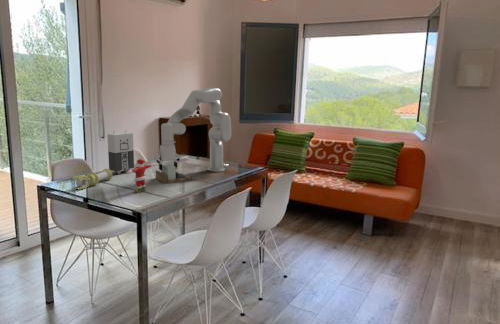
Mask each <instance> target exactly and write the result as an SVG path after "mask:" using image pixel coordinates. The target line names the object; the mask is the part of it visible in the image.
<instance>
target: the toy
mask: <svg viewBox="0 0 500 324" xmlns="http://www.w3.org/2000/svg"><path fill="white" fill-rule="evenodd" d="M134 149H135V148H134V133H133V132H128V130H127V129H125V130H124V132H117V133H116V131H115V130H113V132H112V133H107V150H108V152H107V155H108V169H109V170H111V171H112V172H113V173H114V174H117V175H120V174H121V172H122V171H123V172H128V171H129V170H131V169H134V168H135V156H134V155H135V154H134V153H135V151H134Z"/></svg>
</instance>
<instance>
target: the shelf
mask: <svg viewBox="0 0 500 324" xmlns="http://www.w3.org/2000/svg"><path fill="white" fill-rule="evenodd" d="M155 179H156V180H158V181H160V182H161V183H162V184H165V185H166V184H172V183H179V182H180V183H181V182H182V183H183V182H188V181H189V182H190V181H192V177H190V176H188V175H186V174H184V173H182V172H181V173H179V172H177V171H176V179H172V180H167V175H165V174H163V173H161V170H155Z"/></svg>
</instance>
